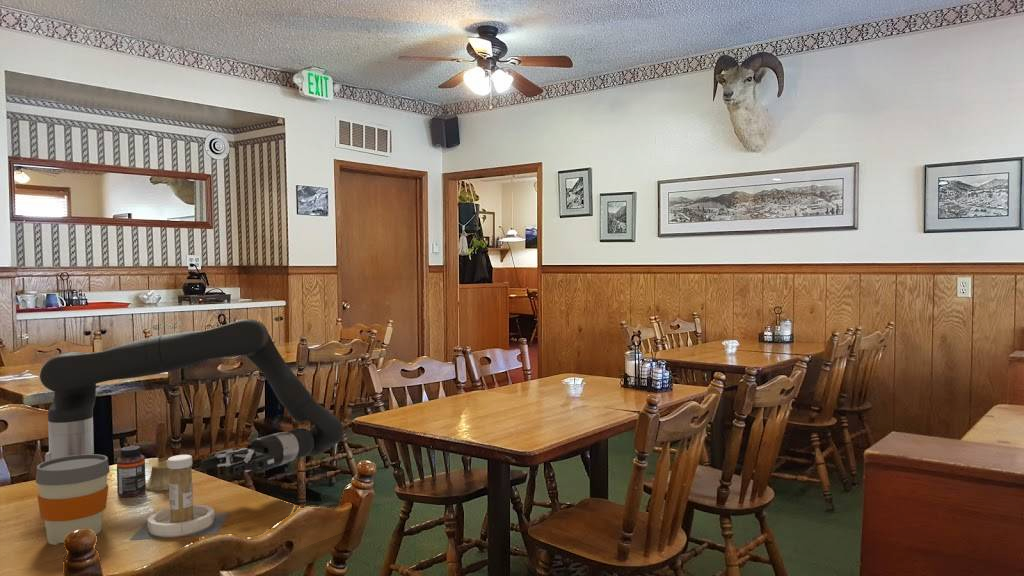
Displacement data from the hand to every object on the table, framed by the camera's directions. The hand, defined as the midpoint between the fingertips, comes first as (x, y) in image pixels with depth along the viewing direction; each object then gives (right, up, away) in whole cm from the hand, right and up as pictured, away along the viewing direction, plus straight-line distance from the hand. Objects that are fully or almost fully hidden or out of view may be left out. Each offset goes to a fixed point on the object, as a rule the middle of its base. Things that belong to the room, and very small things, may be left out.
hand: (214, 468), depth 150 cm
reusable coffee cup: (-24, -11, -10) cm, 28 cm away
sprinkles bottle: (-4, -9, -7) cm, 12 cm away
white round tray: (-4, -10, -7) cm, 13 cm away
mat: (-4, -11, -7) cm, 13 cm away
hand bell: (-22, -10, +22) cm, 33 cm away
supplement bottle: (-26, -11, +16) cm, 32 cm away
